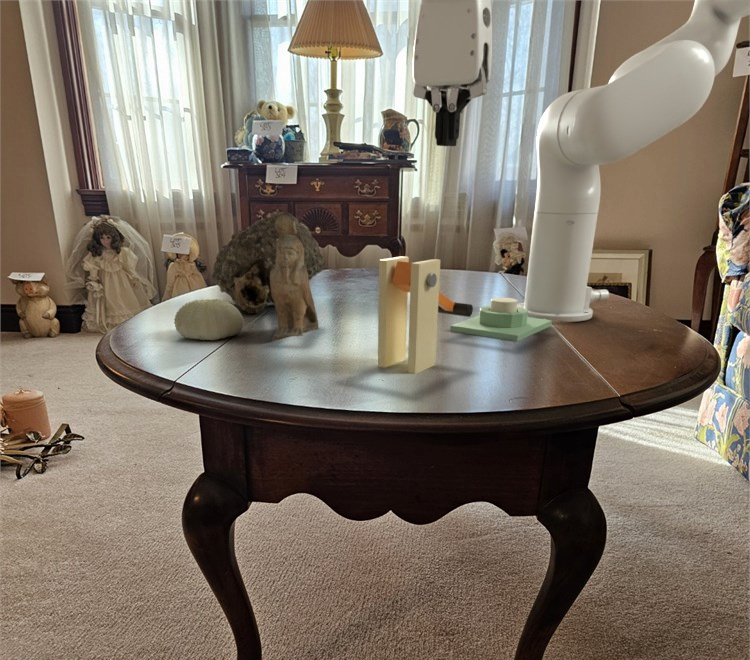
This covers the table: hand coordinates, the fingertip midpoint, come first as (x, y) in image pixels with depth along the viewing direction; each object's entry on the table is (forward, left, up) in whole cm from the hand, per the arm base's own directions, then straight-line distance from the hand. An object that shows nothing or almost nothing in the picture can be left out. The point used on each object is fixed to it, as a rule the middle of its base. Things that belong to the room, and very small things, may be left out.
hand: (446, 145), depth 92 cm
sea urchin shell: (+35, -2, -25) cm, 43 cm away
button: (-3, +14, -21) cm, 25 cm away
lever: (+15, +25, -17) cm, 33 cm away
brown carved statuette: (+24, +3, -25) cm, 35 cm away
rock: (+23, -20, -25) cm, 39 cm away
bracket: (+18, +27, -24) cm, 41 cm away
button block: (-3, +14, -24) cm, 28 cm away
